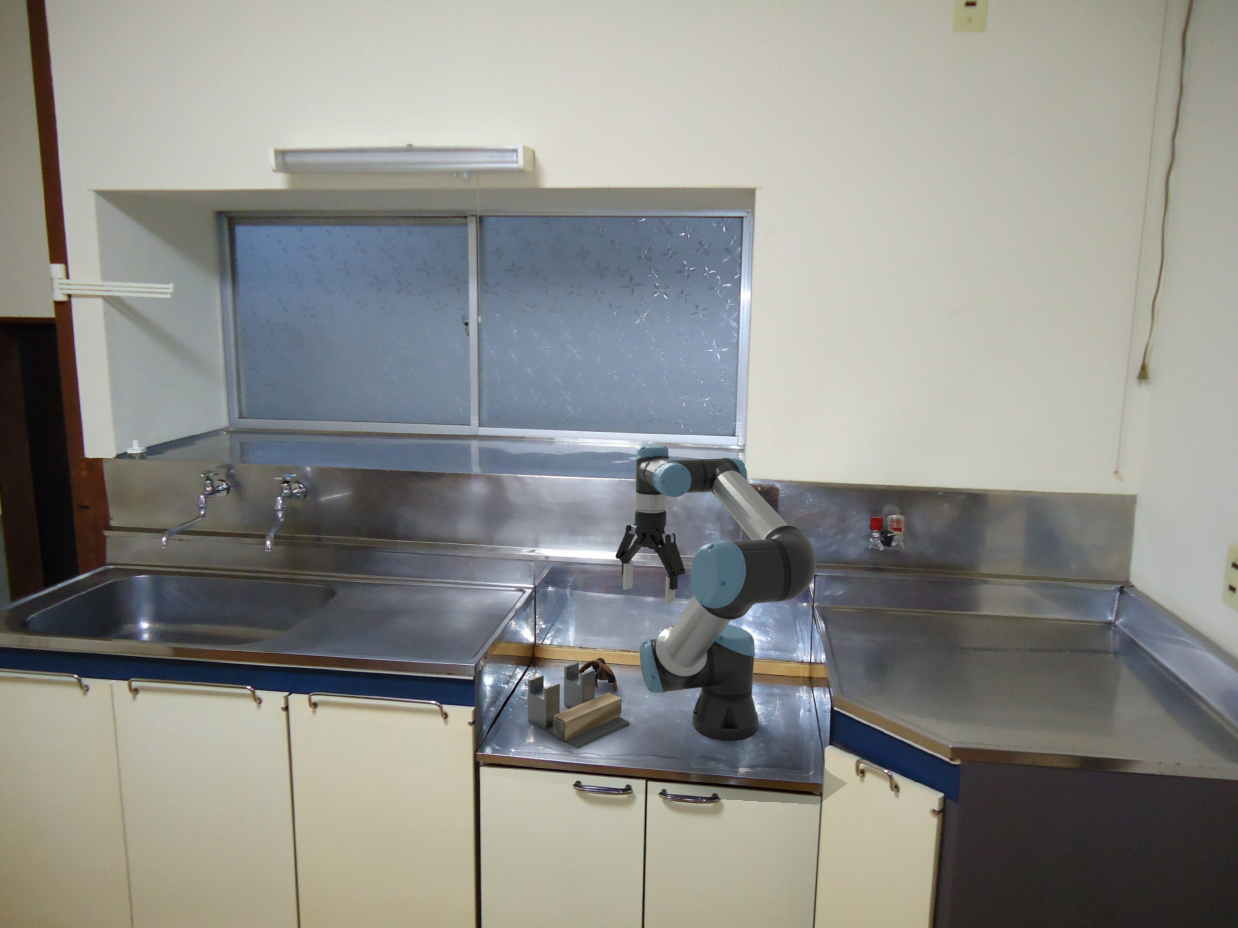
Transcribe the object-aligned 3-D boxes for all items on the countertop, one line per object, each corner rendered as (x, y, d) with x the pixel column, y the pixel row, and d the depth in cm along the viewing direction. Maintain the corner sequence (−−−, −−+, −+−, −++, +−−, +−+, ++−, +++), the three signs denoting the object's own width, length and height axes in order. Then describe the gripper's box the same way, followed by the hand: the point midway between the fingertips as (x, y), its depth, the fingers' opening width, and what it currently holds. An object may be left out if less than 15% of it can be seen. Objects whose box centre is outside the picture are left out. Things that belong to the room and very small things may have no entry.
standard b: (559, 724, 187) (559, 683, 185) (546, 729, 184) (546, 688, 182) (541, 714, 191) (541, 674, 190) (527, 719, 188) (528, 679, 187)
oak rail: (622, 715, 190) (622, 697, 190) (563, 741, 178) (563, 722, 177) (610, 709, 193) (610, 691, 192) (551, 734, 181) (551, 716, 180)
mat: (629, 723, 187) (629, 721, 187) (577, 747, 176) (577, 745, 176) (599, 708, 194) (599, 706, 194) (547, 731, 183) (548, 728, 183)
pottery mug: (620, 698, 201) (605, 674, 198) (586, 711, 203) (571, 687, 200) (621, 667, 212) (606, 644, 209) (588, 679, 214) (574, 656, 211)
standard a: (594, 709, 194) (595, 669, 193) (582, 714, 192) (582, 674, 190) (576, 699, 199) (576, 661, 197) (563, 704, 196) (564, 665, 194)
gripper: (702, 516, 187) (698, 604, 191) (623, 498, 204) (621, 580, 208) (681, 521, 182) (678, 611, 185) (602, 503, 199) (600, 586, 202)
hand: (648, 595), depth 197 cm, fingers open, 13 cm apart
